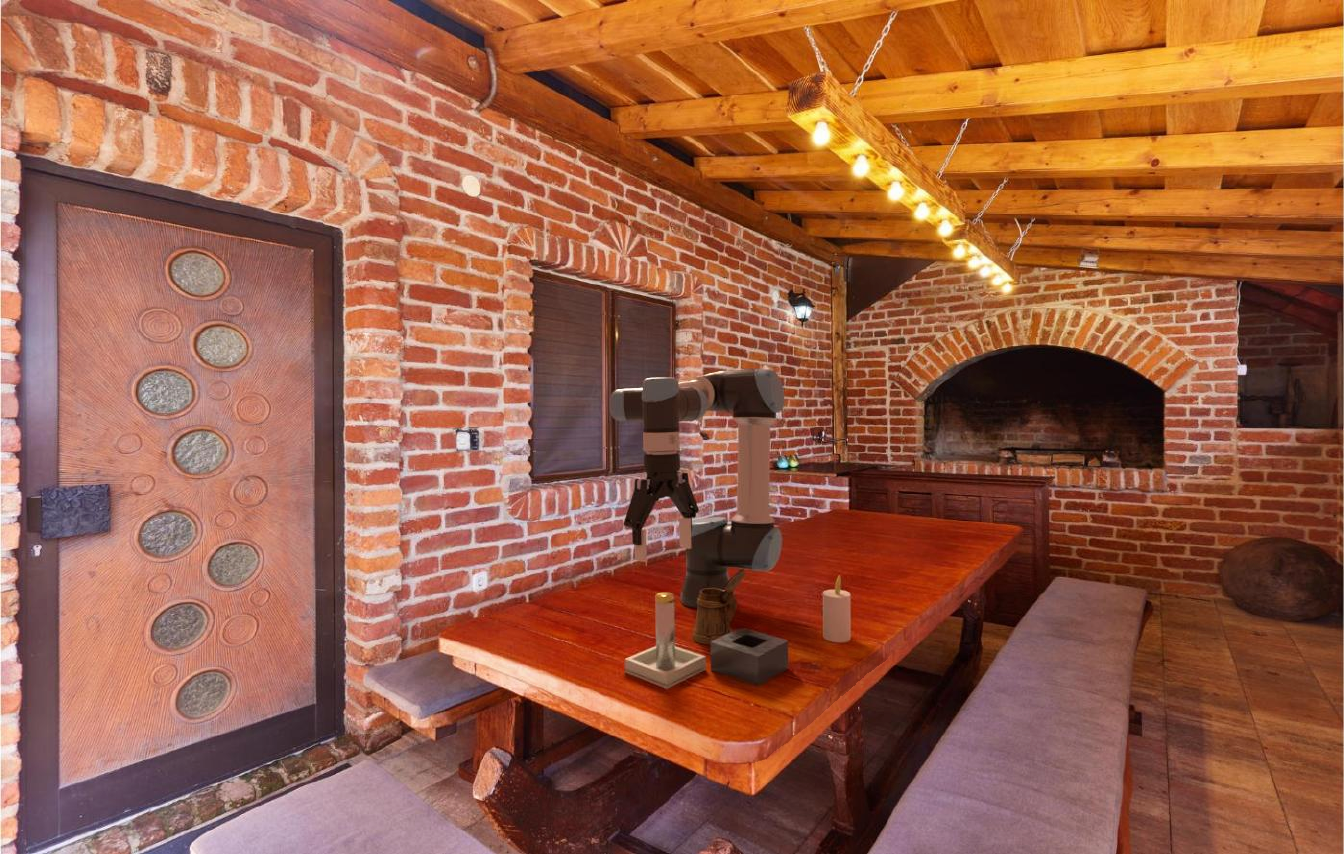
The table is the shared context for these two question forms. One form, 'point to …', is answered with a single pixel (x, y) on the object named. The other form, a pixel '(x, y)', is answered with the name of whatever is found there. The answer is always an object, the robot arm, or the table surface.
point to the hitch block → (749, 656)
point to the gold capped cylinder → (665, 631)
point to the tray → (646, 670)
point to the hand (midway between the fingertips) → (663, 553)
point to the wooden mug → (716, 611)
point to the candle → (836, 614)
